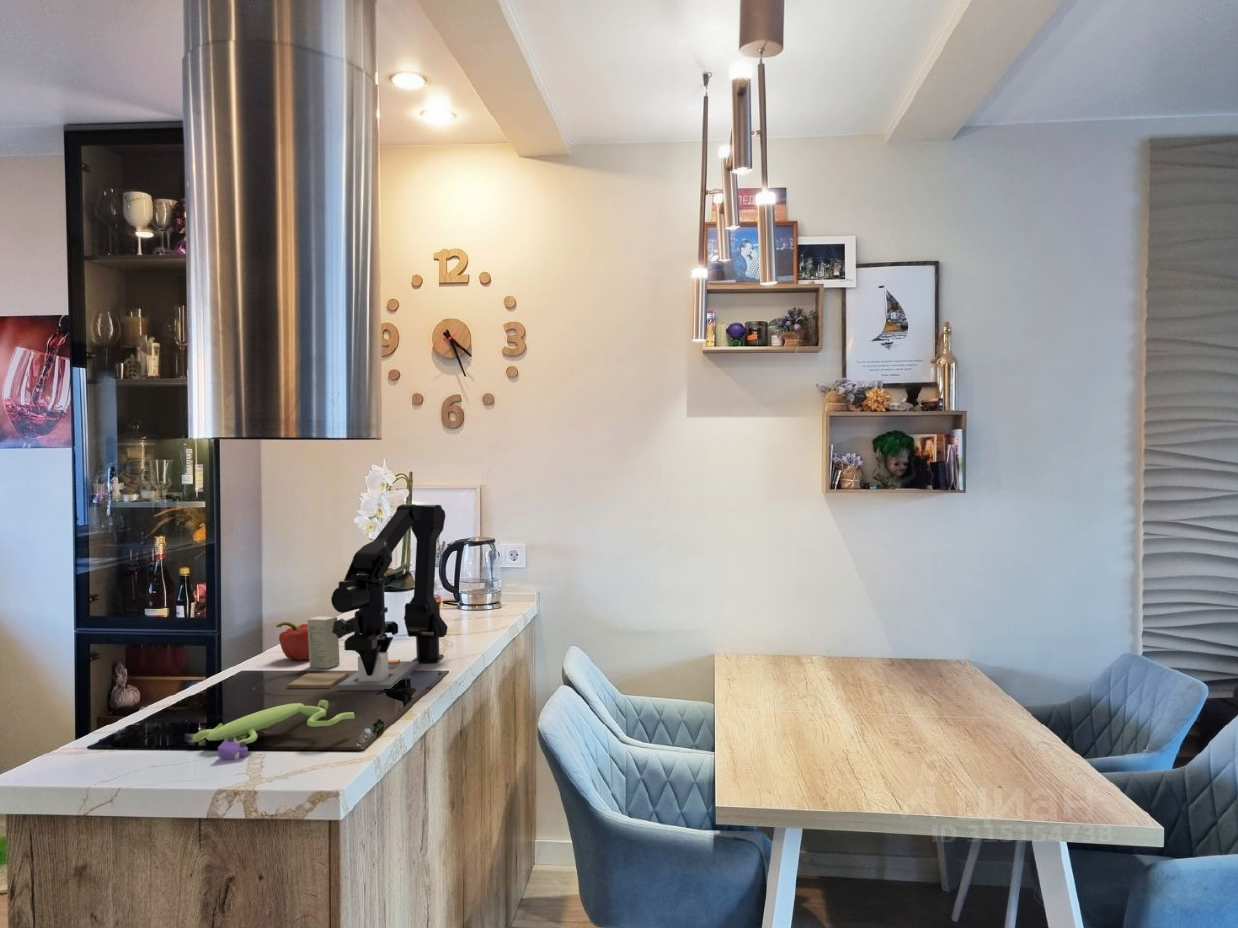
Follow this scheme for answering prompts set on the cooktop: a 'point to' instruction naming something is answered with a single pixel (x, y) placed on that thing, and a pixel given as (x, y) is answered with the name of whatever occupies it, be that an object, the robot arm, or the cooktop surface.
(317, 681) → the walnut coaster
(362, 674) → the block
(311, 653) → the skincare box
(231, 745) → the figurine
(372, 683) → the grey slotted tray
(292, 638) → the vegetable
